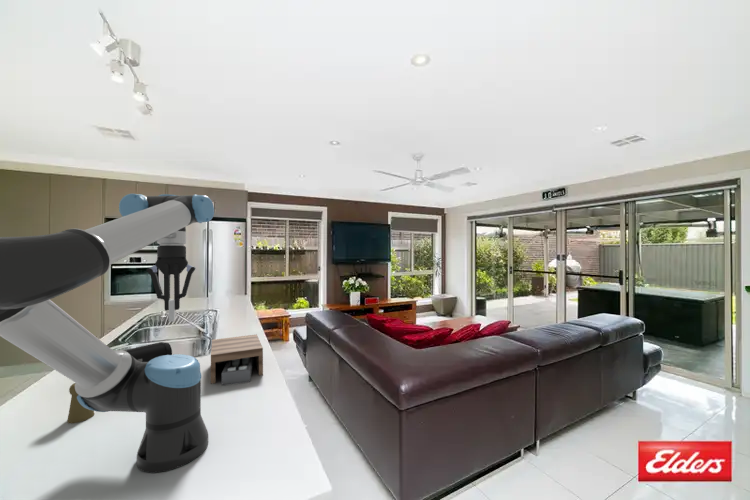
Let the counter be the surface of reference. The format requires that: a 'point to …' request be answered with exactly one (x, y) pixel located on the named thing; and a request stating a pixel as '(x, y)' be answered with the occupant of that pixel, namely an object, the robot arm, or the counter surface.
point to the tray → (237, 371)
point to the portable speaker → (150, 351)
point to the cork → (77, 409)
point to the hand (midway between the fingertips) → (172, 320)
